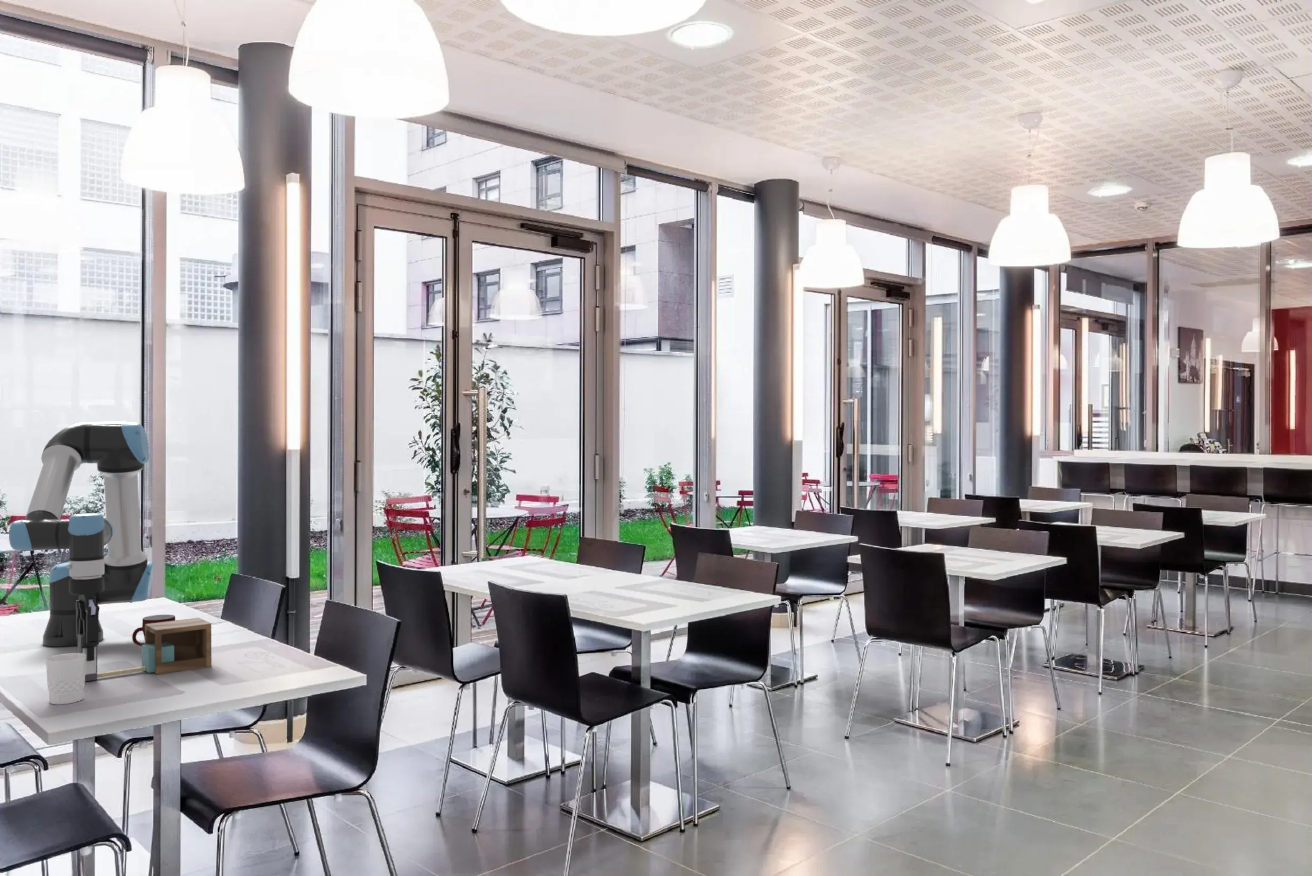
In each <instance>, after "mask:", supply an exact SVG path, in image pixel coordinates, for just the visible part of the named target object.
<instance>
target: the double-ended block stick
mask: <svg viewBox="0 0 1312 876" xmlns="http://www.w3.org/2000/svg"><path fill="white" fill-rule="evenodd" d="M161 644H162V663H166V662H173V661H174V645H172V644H170V643H168V642H162V643H161ZM81 646H84V634H78V645H77V653H83V649H81ZM138 672H139V673H141V672H146V673H148V674H150V673H155V643H154V644H147V645H142V646H141V666H137V667H132V668H125V669H118V670H117V669H116V670H111V671H105V672H98V645H96V673H94V674H87V675H85V682H87V681H89V682H90V681H96V680H98V679H99V678H100V679H101V678H104V677H113V676H118V675H126V674H132V673H138Z"/></svg>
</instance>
